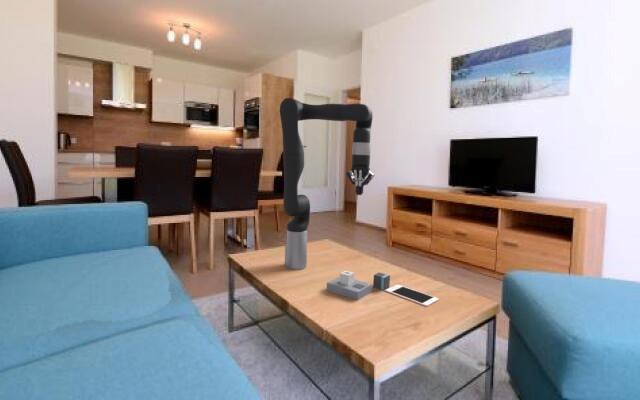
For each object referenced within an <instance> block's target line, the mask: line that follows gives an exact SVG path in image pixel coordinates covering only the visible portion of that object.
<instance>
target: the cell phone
mask: <svg viewBox="0 0 640 400" xmlns="http://www.w3.org/2000/svg"><path fill="white" fill-rule="evenodd" d="M384 292H386V293H387V294H388V293H389V294H391V295H394V296H395V297H396V296H397V297H399V298H402V299H404V300H408V301H410V302H412V303H415V304H418V305H421V306H423V307H426V308H427V307H430V306H431V305H433V304H435V303H437V302H438V301H439V300H440V299H439V298H438V297H436V296H432V295H429V294H427V293H423V292H421V291H418V290H416V289H412V288H409V287H406V286H405V285H401V284H395V285H393V286H391V287H389V288H388V289H386V290H384Z"/></svg>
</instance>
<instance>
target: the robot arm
mask: <svg viewBox="0 0 640 400" xmlns="http://www.w3.org/2000/svg"><path fill="white" fill-rule="evenodd" d="M279 116H280V123H281V129H282V130H281V131H282V153H283V155H282V156H283V157H282V158H283V159H282V160H283V174H284V175H283V176H284V177H283V179H284V181H283V183H284V184H283V185H284V186H283V209H284V212H285V214H286V215H287V216H288V217H292V219H291V220H290V221H289V222H288V223H287V224H286V245H284V246H285V247H284V266H285V267H286V268H288V269H289V270H303V269H306V268H307V258H308V257H307V256H308V255H307V254H308V253H307V252H308V227H309V224H310V218H311V217H310V215H311V203H310V202H311V201H310V199H309V197H308V196H307V195H305V194H298V191H299V190H298V187H299V186H298V185H299V181H300V178H301V175H302V173H303V171H304V169H305V149H304V145H303V142H302V139H301V136H300V133H299V121H306V120H307V121H308V120H319V121H320V120H322V121H323V120H324V121H332V122H333V121H334V122H335V121H336V122H346V121H351V122H355V129H354V130H353V135H352V138H353V139H352V140H353V141H352V142H353V143H352V151H351V169H350V171H348V172H347V171H346V173H345V174H346V175H347V177H348V180H349V181H350V182H351V184H352V185H355V194H356V196H362V195H363V194H364V186H368V185H369V183H371V180H373V178H374V176H375V173H373V172H371V169H370V163H371V129H372V124H373V116H374V115H373V110H372V109H371V107H369V106H368V105H366V104H364V103H350V104H349V103H347V104H345V103H324V104H309V103H304V102H301V101H299V100H297V99H295V98H292V97H286V98H284V99H283V100H282V101H281V103H280V105H279Z"/></svg>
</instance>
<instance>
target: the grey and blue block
mask: <svg viewBox="0 0 640 400" xmlns="http://www.w3.org/2000/svg"><path fill="white" fill-rule="evenodd" d="M390 281H391V275H390V274H388V273H382V272H377V273H375V274H373V283H372V288H376V289H377V290H378V289H379V290H382V291H385V290H386V289H388V288H390Z"/></svg>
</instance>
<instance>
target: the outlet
mask: <svg viewBox="0 0 640 400" xmlns="http://www.w3.org/2000/svg"><path fill="white" fill-rule="evenodd" d="M372 288H373V283H372V284H371V283H368V282H365V281H361V280H357V279H355V278H354V283H353V284H351V285H349V286H346V285H342V284H340V276H338V277H336V278H334V279H331V280H329V281H327V282H326V291H327V292H328V291H329V292H330V293H334V294H338V295H341V296H344V297H346V298H350V299H354V300H356V301H359V300H361V299H362V298H364V297H365V296H368V295H369V294H370V293H372V290H373V289H372Z"/></svg>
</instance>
